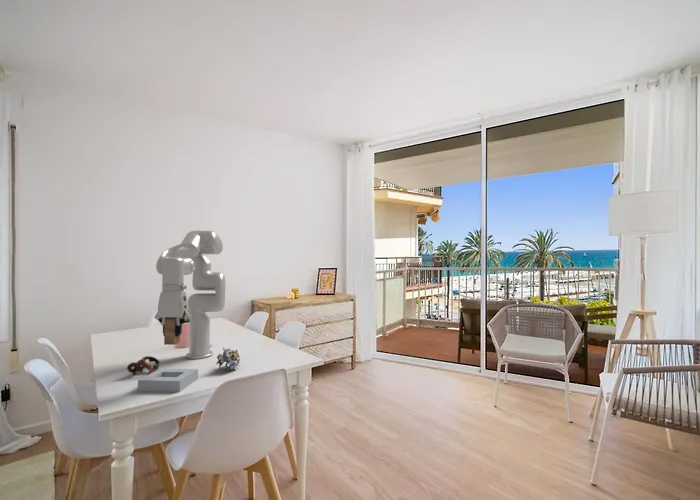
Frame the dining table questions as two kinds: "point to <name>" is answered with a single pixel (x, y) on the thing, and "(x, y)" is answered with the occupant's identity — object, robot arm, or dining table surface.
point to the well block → (168, 380)
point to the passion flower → (229, 359)
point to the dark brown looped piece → (143, 365)
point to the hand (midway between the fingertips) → (172, 334)
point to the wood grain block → (170, 332)
